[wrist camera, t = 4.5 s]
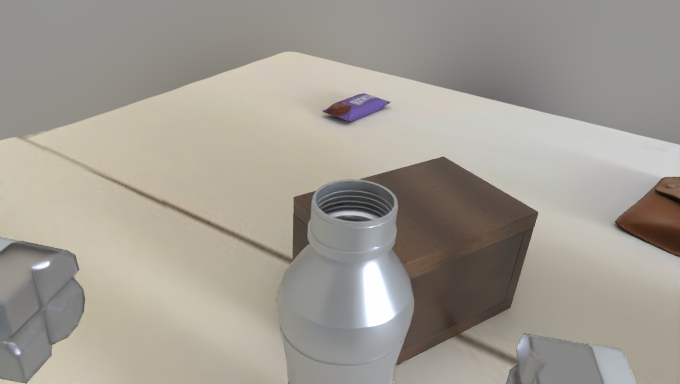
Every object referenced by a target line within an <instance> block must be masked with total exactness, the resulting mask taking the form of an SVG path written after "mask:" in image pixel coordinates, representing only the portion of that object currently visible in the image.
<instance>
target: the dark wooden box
mask: <svg viewBox="0 0 680 384" xmlns="http://www.w3.org/2000/svg"><path fill="white" fill-rule="evenodd" d="M359 180H365V181H370V182H374V183H377V184H380V185H382V186H384V187H386V188H387V189H389V190H390V191H391V192H392V193H393V194H394V195H395V197H396V198H397V202H398V204H397V205H398V210H397V217H396V228H397V233H396V240H395V244H394V246H393V248H392V250H393V252H394V253H395V254H396V255H397V257H398V258H399V260H400V262H401V263H402V265H403V267H404V268H405V270H406V272H407V274H408V276H409V278H410V282H411V287H412V292H413V297H414V311H413V315H412V319H411V323H410V326H409V329H408V332H407V334H406V337H405V340H404V343H403V345H402V348H401V351H400V354H399V356H398V359H397V362H396V365H397V364H399V363H401V362H403V361H405V360H407V359H409V358H411V357H413V356H415V355H417V354H419V353H421V352H423V351H425V350H427V349H429V348H431V347H433V346H435V345H437V344H439V343H441V342H443V341H445V340H447V339H449V338H451V337H453V336H455V335H457V334H459V333H460V332H462V331H464V330H466V329H468V328H470V327H472V326H474V325H476V324H478V323H480V322H482V321H484V320H486V319H488V318H490V317H492V316H494V315H496V314H498V313H500V312H502V311H504V310H506V309H508V308H510V307H511V304H512V301H513V297H514V294H515V290H516V287H517V283H518V280H519V277H520V273H521V270H522V266H523V263H524V260H525V256H526V253H527V249H528V246H529V242H530V239H531V236H532V232H533V229H534V226H535V223H536V219H537V216H538V212H537V211H536V210H534V209H532V208H530V207H529V206H527V205H525V204H524V203H522V202H520V201H518V200H517V199H515V198H513V197H512V196H510V195H508V194H506V193H505V192H503V191H501V190H500V189H498V188H496V187H495V186H493V185H491V184H489V183H488V182H486V181H484V180H483V179H481V178H479V177H477V176H476V175H474V174H472V173H471V172H469V171H467V170H465V169H464V168H462V167H460V166H459V165H457V164H455V163H454V162H452V161H450V160H448V159H447V158H445V157H440V158H437V159H433V160H429V161H425V162H422V163H418V164H414V165H411V166H407V167H403V168H400V169H396V170H392V171H388V172H385V173H381V174H377V175H374V176H370V177H366V178H363V179H359ZM315 192H316V191H314V192H311V193H307V194H303V195H300V196H296V197H294V213H293V260H294V259H295V258H296V257H297V256H298V254H299V253H300V252H301V251H302V250H303V249H304V248H305V247H306V246H307V245H309V244H310V243H309V241H308V237H307V235H308V223H309V221H310V219H311V202H312V199H313V195H314V193H315Z"/></svg>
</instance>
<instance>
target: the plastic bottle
mask: <svg viewBox="0 0 680 384" xmlns="http://www.w3.org/2000/svg"><path fill="white" fill-rule="evenodd" d="M397 204H398V202H397V198H396V197H395V195H394V194H393V193H392V192H391V191H390V190H389V189H387V188H386V187H384V186H382V185H380V184H377V183H374V182H370V181H365V180H353V179H349V180H339V181H334V182H331V183H328V184H325V185H323V186H322V187H320V188H319V189H318V190H317V191H316V192H315V193H314V195H313V199H312V202H311V219H310V221H309V223H308V235H307V237H308V241H309V243H310V244H309V245H307V246H306V247H305V248H304V249H303V250H302V251H301V252H300V253H299V254H298V256H297V257H296V258H295V259H294V260H293V262H292V263H291V264H290V265H289V267H288V268H287V269H286V271H285V273H284V276H283V278H282V281H281V283H280V286H279V289H278V292H277V299H276V303H277V312H278V320H279V325H280V330H281V334H282V339H283V344H284V349H285V354H286V359H287V374H288V384H391V383H392V378H393V374H394V369H395V365H396V362H397V359H398V356H399V354H400V351H401V348H402V345H403V343H404V340H405V337H406V334H407V332H408V329H409V326H410V323H411V319H412V315H413V311H414V297H413V292H412V287H411V282H410V278H409V276H408V274H407V272H406V270H405V268H404V267H403V265H402V263H401V262H400V260H399V258H398V257H397V255H396V254H395V253H394V252H393V250H392V248H393V246H394V244H395V240H396V233H397V228H396V217H397V210H398V205H397Z"/></svg>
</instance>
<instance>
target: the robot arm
mask: <svg viewBox="0 0 680 384" xmlns="http://www.w3.org/2000/svg"><path fill="white" fill-rule="evenodd" d="M78 270H79V267H78V263H77V259H76V255H75V254H73V253H71V252H69V251H67V250H63V249H58V248H53V247H48V246H43V245H38V244H34V243H29V242H24V241H16V240H12V239H7V238H2V237H0V379H4V380H10V381H15V382H21V383H27V382H28V381H29V380H30V379H31V378H32V377H33V375H34V374H35V373H36V372H37V371H38V370H39V369H40V368H41V367H42V365H43V364H44V363H45V362H46V361H47V360H48V359H49V358H50V357H51V356H52V345H53V344H55V343H57V342H59V341H61V340H63V339H65V338H68V336H69V335H70V334H71V333H72V332H73V331H74V329H75V328H76V327H77V326H78V323H79V321H80V319H81V316H82V314H83V312H84V304H85V297H84V291H83V288H82V287H81V286H80V284H79V283H78V282H77V281H76V280H75V279H74V276H75V275H76V273H77V272H78ZM516 351H517V358H518V365H517V366H515V367H513V368H512V369H510V372H509V375H508V379H507V382H506V384H636V381H635V379H634V376H633V374H632V371H631V369H630V366H629V364H628V362H627V359H626V357H625V354H624V353H623V352H622V351H621V350H620V349H619V348H612V347H606V346H600V345H594V344H583V343H578V342H572V341H566V340H561V339H555V338H549V337H543V336H538V335H532V334H526V333H524V334H523V336H522V337H521V339H520V341H519V344H518V347H517V350H516Z"/></svg>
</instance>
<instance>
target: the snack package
mask: <svg viewBox="0 0 680 384" xmlns="http://www.w3.org/2000/svg"><path fill="white" fill-rule="evenodd" d="M389 103H391V102H388V101H385V100H382V99H379V98H377V97H374V96H370V95H367V94H359V95H356V96H354V97H351V98H348V99H345V100H343V101H339V102H337V103H335V104H333V105H332V106H330V107H329V108H328V109H326V110H324V111H323V112H325V113H328V114H331V115H333V116H336V117H339V118H341V119H344V120H348V121H354V120H357V119H359V118H361V117H364V116H366V115H369V114H371V113H373V112H376V111H378V110H380V109H381V108H383V107H384V106H385V105H387V104H389Z"/></svg>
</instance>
